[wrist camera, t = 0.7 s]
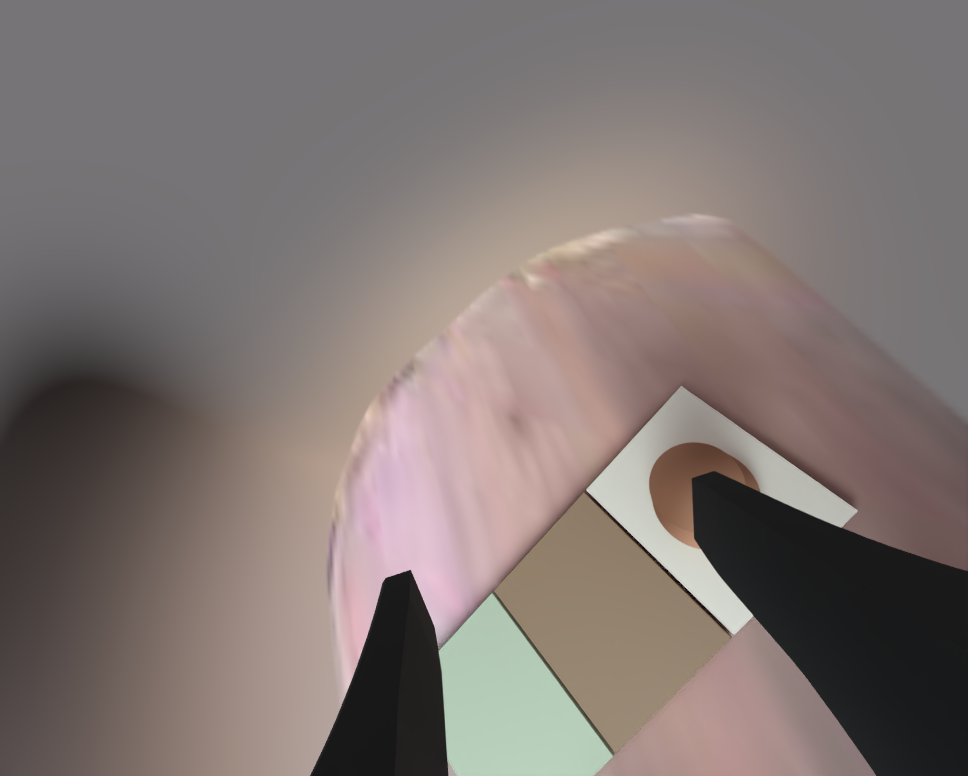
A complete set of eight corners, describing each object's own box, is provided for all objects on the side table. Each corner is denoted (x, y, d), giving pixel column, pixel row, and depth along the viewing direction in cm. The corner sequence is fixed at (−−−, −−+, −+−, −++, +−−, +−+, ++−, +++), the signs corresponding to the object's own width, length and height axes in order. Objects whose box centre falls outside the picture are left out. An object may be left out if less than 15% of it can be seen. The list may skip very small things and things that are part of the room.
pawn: (785, 498, 23) (797, 483, 18) (713, 572, 24) (705, 578, 19) (697, 431, 26) (686, 403, 21) (634, 499, 27) (609, 487, 22)
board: (855, 511, 22) (858, 510, 22) (509, 858, 25) (505, 864, 24) (682, 388, 28) (681, 385, 27) (411, 683, 30) (406, 685, 30)
